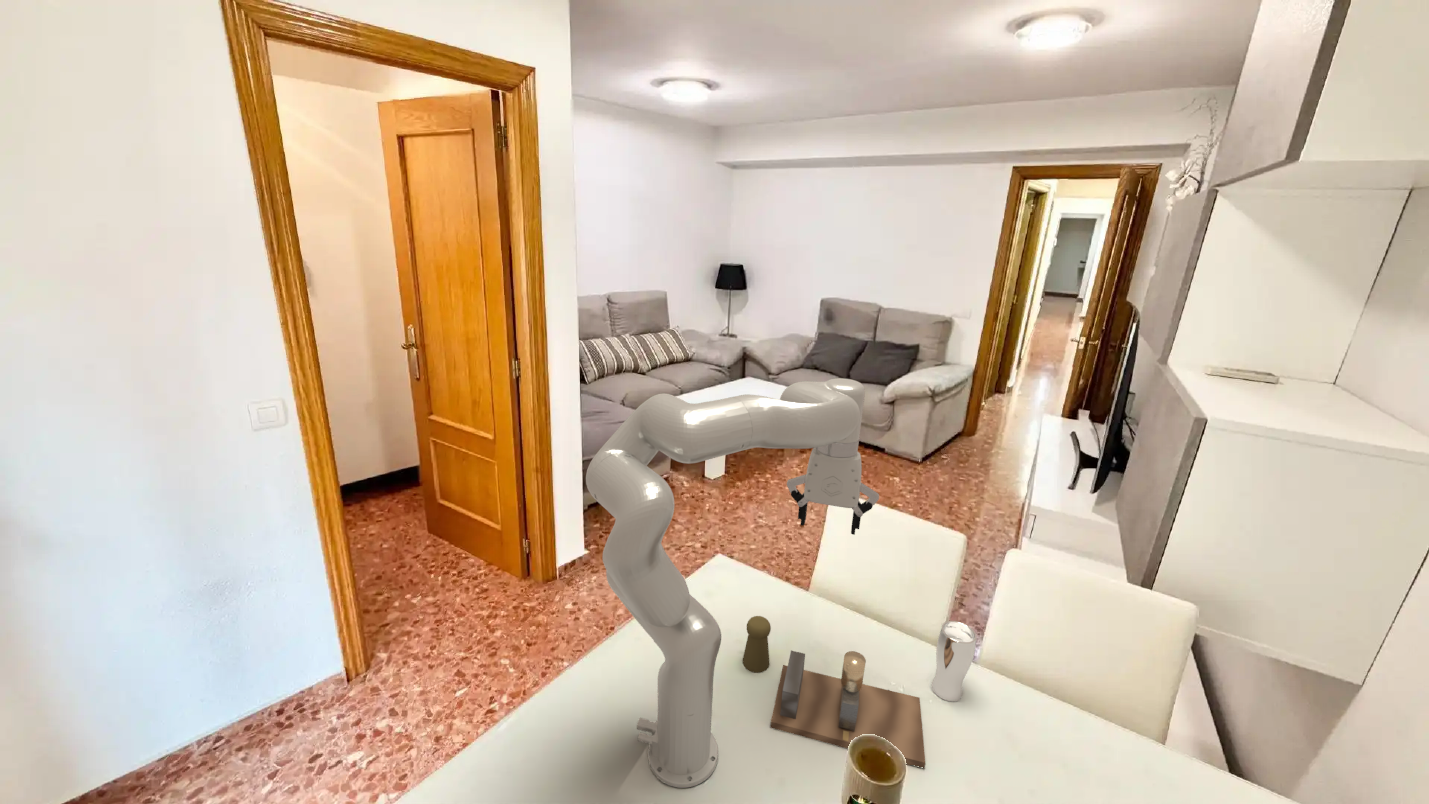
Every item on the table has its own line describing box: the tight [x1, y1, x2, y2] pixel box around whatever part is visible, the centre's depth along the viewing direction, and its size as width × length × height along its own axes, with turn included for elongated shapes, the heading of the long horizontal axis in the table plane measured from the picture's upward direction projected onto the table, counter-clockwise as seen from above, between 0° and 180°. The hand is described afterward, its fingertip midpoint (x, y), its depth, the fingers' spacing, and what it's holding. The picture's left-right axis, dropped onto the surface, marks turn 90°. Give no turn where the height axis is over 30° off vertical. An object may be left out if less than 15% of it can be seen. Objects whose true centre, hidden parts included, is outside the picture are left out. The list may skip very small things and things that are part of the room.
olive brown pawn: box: [741, 615, 772, 674], centre depth 120 cm, size 6×6×11 cm
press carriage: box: [839, 650, 867, 731], centre depth 107 cm, size 4×10×12 cm, turn 164°
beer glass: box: [930, 620, 978, 703], centre depth 114 cm, size 7×7×15 cm
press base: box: [769, 650, 926, 769], centre depth 108 cm, size 28×15×8 cm, turn 74°
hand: (827, 526), depth 107 cm, fingers open, 9 cm apart
